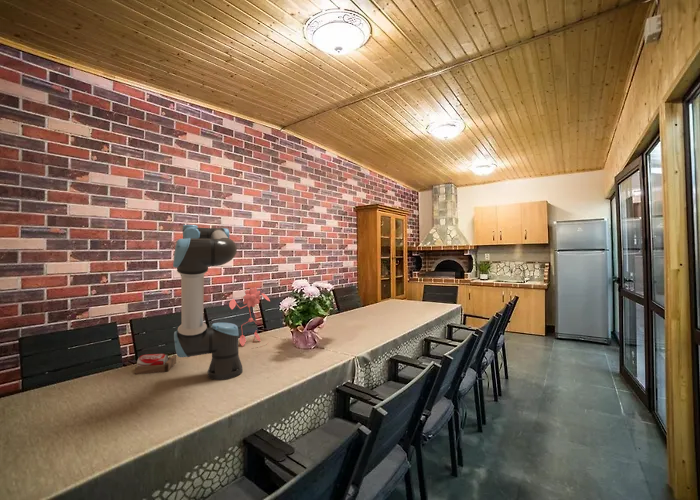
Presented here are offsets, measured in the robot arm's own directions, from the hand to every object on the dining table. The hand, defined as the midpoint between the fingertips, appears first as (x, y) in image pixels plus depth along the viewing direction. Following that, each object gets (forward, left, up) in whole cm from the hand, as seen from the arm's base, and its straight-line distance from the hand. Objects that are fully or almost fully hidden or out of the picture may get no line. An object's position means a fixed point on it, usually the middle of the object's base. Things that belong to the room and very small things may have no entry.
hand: (190, 296), depth 174 cm
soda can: (-15, +20, -29) cm, 38 cm away
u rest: (-15, +12, -32) cm, 38 cm away
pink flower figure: (+14, -31, -33) cm, 47 cm away
